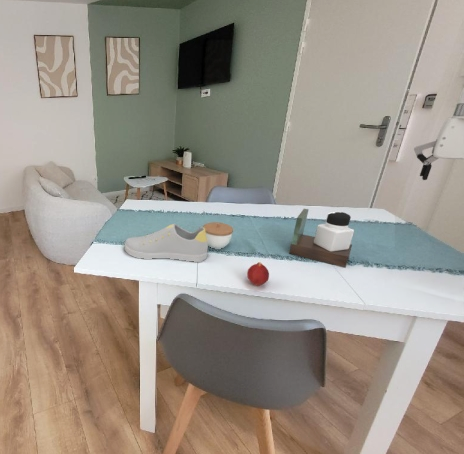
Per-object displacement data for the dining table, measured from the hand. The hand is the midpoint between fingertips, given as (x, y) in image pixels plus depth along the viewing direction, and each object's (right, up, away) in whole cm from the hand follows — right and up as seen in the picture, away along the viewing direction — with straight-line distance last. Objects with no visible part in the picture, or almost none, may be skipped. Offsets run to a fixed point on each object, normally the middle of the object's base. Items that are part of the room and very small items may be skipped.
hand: (450, 180), depth 76 cm
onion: (-45, -30, +12) cm, 55 cm away
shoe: (-69, -23, +32) cm, 79 cm away
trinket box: (-48, -20, +37) cm, 63 cm away
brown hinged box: (-15, -22, +26) cm, 38 cm away
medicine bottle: (-13, -19, +23) cm, 33 cm away
